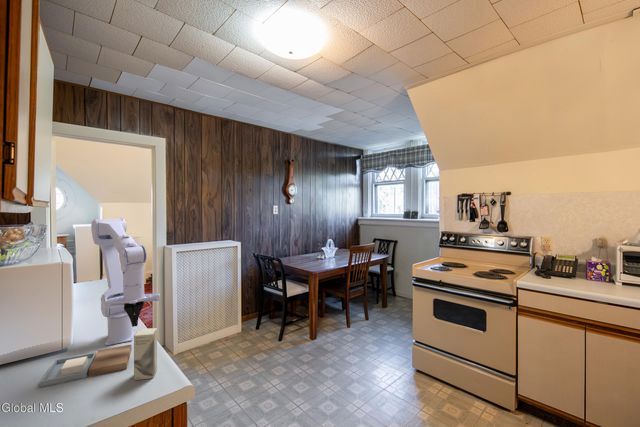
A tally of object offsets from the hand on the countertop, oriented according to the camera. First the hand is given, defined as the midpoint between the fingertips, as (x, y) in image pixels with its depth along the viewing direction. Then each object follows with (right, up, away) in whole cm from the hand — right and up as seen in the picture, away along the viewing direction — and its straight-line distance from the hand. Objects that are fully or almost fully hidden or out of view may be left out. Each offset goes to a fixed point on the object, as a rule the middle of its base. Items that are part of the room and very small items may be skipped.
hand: (134, 325), depth 97 cm
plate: (-4, -10, -5) cm, 12 cm away
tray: (-13, -10, -9) cm, 19 cm away
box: (+10, -10, -11) cm, 18 cm away
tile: (-12, -10, -9) cm, 18 cm away
